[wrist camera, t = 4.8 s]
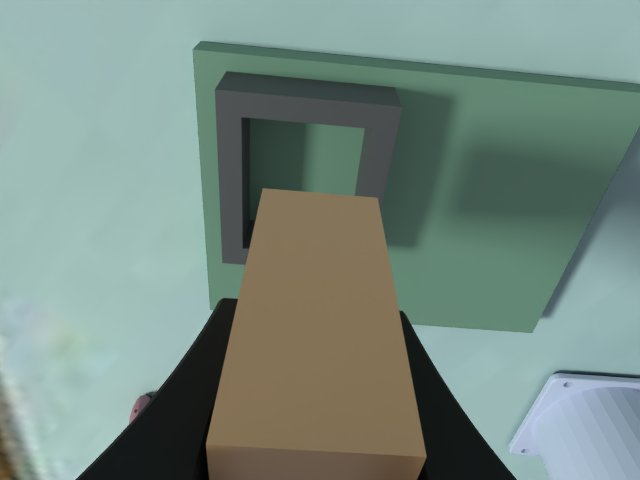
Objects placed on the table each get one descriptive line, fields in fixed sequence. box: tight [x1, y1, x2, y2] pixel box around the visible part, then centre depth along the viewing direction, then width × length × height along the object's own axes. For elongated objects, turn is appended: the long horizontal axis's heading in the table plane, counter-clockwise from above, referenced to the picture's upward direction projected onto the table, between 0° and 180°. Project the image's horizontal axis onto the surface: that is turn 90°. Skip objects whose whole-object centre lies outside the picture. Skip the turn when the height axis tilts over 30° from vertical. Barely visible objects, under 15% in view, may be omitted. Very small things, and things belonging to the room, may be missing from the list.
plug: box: [206, 188, 427, 480], centre depth 10 cm, size 3×4×7 cm
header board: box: [193, 41, 640, 333], centre depth 19 cm, size 16×12×3 cm
